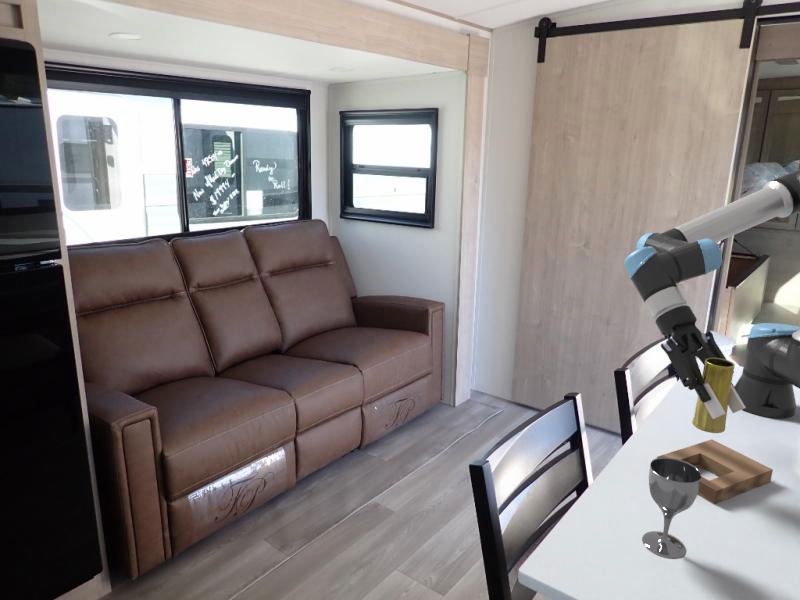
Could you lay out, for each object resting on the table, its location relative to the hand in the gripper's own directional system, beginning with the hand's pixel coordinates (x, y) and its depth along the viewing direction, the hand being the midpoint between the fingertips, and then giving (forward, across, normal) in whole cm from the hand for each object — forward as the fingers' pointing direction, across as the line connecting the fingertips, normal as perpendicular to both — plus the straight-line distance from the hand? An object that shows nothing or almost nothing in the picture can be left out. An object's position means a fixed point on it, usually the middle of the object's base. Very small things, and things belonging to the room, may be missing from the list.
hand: (729, 413), depth 114 cm
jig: (+10, -4, -14) cm, 18 cm away
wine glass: (+18, +24, -7) cm, 31 cm away
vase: (+1, 0, -6) cm, 6 cm away
